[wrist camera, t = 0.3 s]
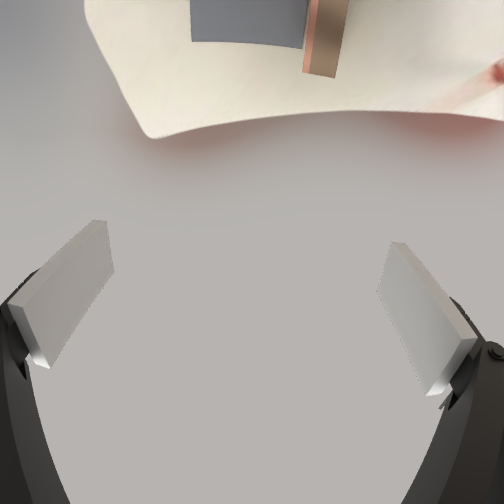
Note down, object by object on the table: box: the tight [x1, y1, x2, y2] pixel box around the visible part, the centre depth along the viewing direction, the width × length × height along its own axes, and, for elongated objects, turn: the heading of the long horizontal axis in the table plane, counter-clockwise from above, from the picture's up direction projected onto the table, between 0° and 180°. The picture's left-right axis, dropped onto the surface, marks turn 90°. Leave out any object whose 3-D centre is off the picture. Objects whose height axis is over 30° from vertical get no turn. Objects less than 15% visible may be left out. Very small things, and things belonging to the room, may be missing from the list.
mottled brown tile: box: [302, 0, 349, 78], centre depth 24 cm, size 10×3×14 cm, turn 178°
